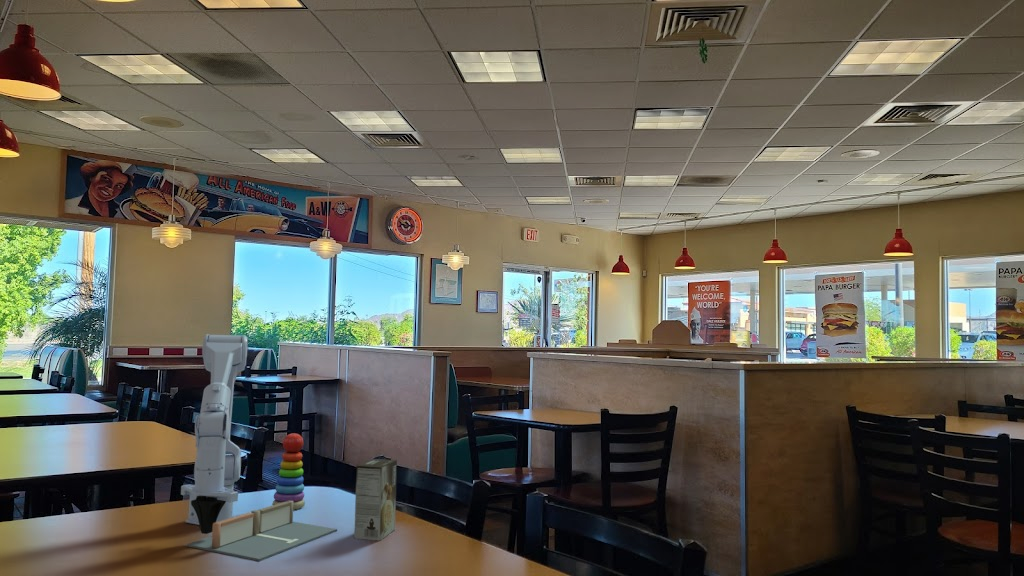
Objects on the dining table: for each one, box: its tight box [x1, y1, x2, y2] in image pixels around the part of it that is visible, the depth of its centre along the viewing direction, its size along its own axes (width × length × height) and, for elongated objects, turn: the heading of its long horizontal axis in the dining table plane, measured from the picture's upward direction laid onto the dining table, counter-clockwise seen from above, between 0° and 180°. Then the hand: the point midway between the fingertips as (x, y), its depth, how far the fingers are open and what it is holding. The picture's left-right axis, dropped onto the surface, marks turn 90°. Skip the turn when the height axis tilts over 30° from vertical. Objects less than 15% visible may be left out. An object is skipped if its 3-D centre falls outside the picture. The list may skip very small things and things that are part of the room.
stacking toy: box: [271, 432, 306, 511], centre depth 182 cm, size 8×8×19 cm
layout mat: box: [186, 521, 338, 562], centre depth 154 cm, size 20×24×1 cm
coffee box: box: [353, 458, 398, 542], centre depth 160 cm, size 9×6×16 cm
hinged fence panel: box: [211, 512, 254, 548], centre depth 150 cm, size 10×2×5 cm, turn 156°
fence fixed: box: [250, 501, 294, 536], centre depth 161 cm, size 2×12×5 cm, turn 156°
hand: (207, 532), depth 151 cm, fingers closed
